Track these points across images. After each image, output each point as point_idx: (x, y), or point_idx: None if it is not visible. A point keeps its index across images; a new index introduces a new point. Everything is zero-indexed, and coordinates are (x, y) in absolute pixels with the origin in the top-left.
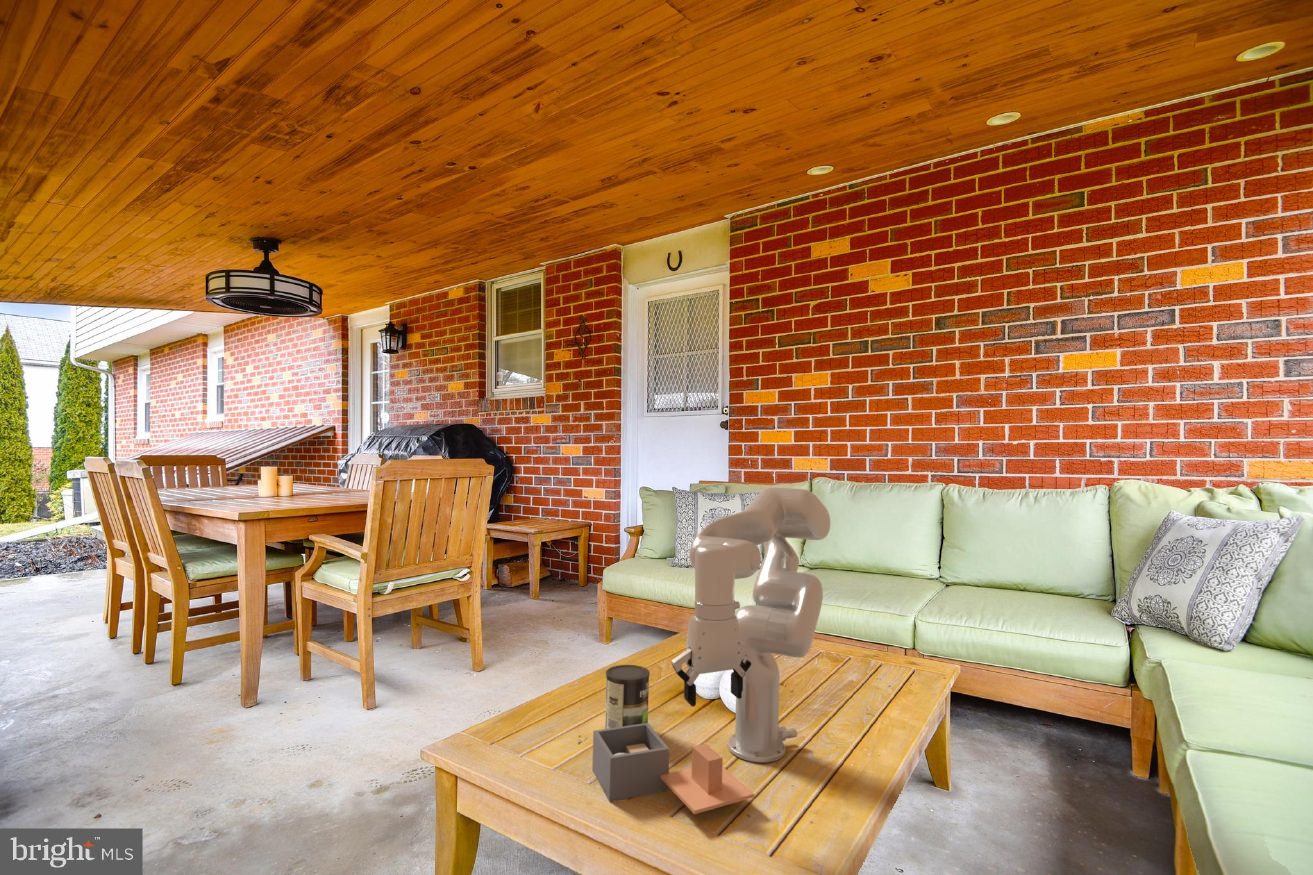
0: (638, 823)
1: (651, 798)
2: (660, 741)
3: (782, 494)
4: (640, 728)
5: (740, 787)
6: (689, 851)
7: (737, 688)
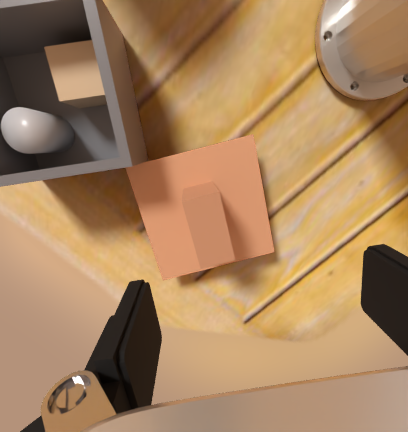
0: (86, 240)
1: (114, 179)
2: (114, 122)
3: None
4: (68, 4)
5: (260, 231)
6: None
7: (392, 334)
